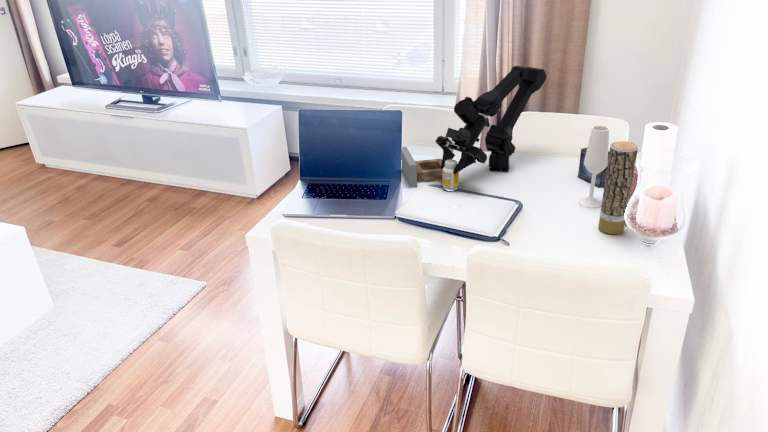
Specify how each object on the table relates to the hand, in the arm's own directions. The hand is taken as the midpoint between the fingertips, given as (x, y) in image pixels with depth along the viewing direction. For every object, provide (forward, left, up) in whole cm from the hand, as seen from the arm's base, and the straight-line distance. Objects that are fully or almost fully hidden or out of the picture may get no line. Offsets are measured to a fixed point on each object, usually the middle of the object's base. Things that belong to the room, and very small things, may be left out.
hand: (447, 171), depth 189 cm
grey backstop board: (+15, -8, -7) cm, 18 cm away
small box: (-47, -17, -7) cm, 50 cm away
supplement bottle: (-1, -1, -7) cm, 7 cm away
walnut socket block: (+8, -11, -7) cm, 16 cm away
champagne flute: (-45, +1, -7) cm, 45 cm away
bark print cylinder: (-50, +18, -7) cm, 53 cm away
